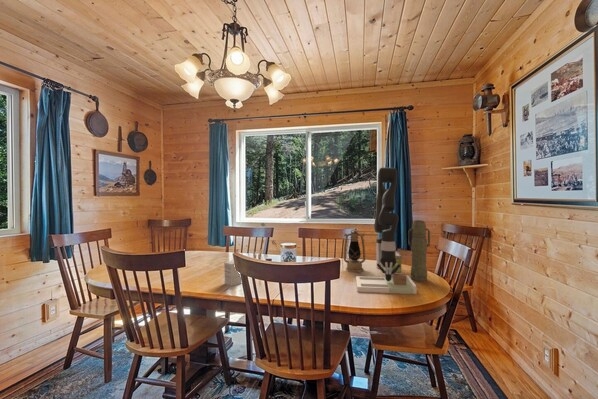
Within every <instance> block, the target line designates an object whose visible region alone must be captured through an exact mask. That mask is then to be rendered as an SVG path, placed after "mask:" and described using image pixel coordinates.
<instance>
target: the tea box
mask: <svg viewBox="0 0 598 399" xmlns="http://www.w3.org/2000/svg"><path fill="white" fill-rule="evenodd" d="M402 259H403V258H402V254H401V253H400V252H399V251H396V261H397V263H398V264H400V267H399V268H398V270H397V271H396V272H395V273H402V263H403V262H402ZM395 265H396V264H395ZM395 265H394V266H393V267H392V270H393V269H394V268H395ZM383 270H385V267H384V266H383ZM388 271H389V268H388ZM388 274H389V273H388ZM382 276H383V277H385V273H383V272H382ZM391 278H393V274H391Z"/></svg>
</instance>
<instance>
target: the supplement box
mask: <svg viewBox="0 0 598 399" xmlns="http://www.w3.org/2000/svg"><path fill="white" fill-rule="evenodd" d="M223 268H224V284H225V285H227V286H230V287H234V286H237V285H240V284H242V283H241V277H240V274H239V273H238V272H237V271H236V270H235V267H234V262H233V260H228V261H224V267H223Z"/></svg>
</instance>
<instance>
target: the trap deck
mask: <svg viewBox="0 0 598 399" xmlns="http://www.w3.org/2000/svg"><path fill="white" fill-rule="evenodd" d="M414 282H415V281H414V280H412V279H411V277H410V276H409V275H406V285H394V282H393V278H391V280H390V281H387V280H386V278H385V277H384V276H383V277H382V276H360V275H359V276H358V275H357V276H355V283H356V290H357V292H359V293H361V292H362V293H382V294H383V293H384V294H386V293H387V294H403V295H404V294H405V295H407V294H409V295H417V294H418V293H417V285H416V283H414Z"/></svg>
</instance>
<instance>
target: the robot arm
mask: <svg viewBox="0 0 598 399" xmlns="http://www.w3.org/2000/svg"><path fill="white" fill-rule="evenodd" d="M397 181H398V171H397V168H395V167H380V168H379V169H378V172H377V193H376V194H377V195H376V201H375V202H376V203H375V204H376V206H375V207H376V208H375V219H374V224H373V225H374V226H373V227H374V228H373V229H374V232H375V233H376V234H381V236H380V237H377V238H376V268H377V269H379V270H380V271H381V272H382V274H383V273H385V278H386V280H387V281H390V280H391V274H393V273H395V272H396V271H397V270H398V268H399V267H400V264H398V263H397V261H396V252H397V251H396V250H397V247H396V230H397V227H398V223H399V217H400V216H399V215H398V213H397V212H394V211H395V210H396V192H397V190H396V189H397ZM384 184H390V186H389V187H388V188H387V189H386V186H385V185H384ZM395 264H396V265H395ZM394 265H395V268H394V269H393V270H392V267H393V266H394ZM383 266H384V267H385V270H383ZM388 268H389V271H388ZM388 273H389V274H388Z"/></svg>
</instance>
